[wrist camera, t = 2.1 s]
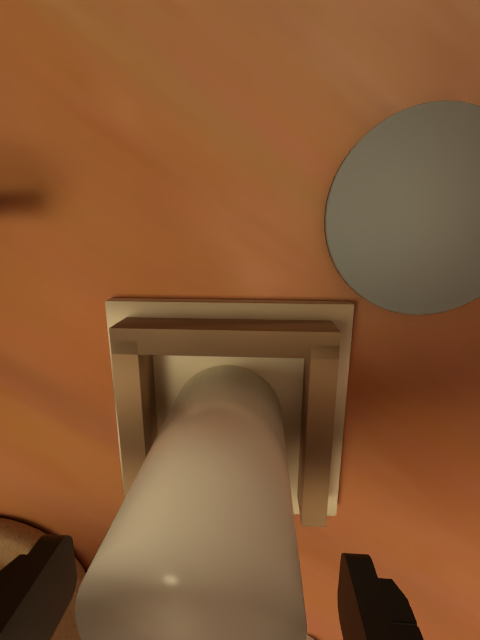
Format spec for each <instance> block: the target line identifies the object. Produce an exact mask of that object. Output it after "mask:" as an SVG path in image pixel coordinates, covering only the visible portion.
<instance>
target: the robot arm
mask: <svg viewBox="0 0 480 640" xmlns="http://www.w3.org/2000/svg"><path fill="white" fill-rule="evenodd" d="M76 583H77V570H76V563H75V555H74V548H73V541H72V538H71V536H68V535H51V534H45V535H43V536H41V537H40V538H39V539H38V541H37V542H36V543H35V545H34V546H33V547H32V549H31V550H30V551H29V553H28V554H27V555H26V554H20V555H19V556H17V557H16V558H15V559H14V560H12V561H11V562H10V563H9V564H8V565H6V566H5V567H4V568H3V569H1V570H0V640H51V638H52V636H53V634H54V632H55V630H56V628H57V626H58V625H59V623H60V621H61V619H62V617H63V615H64V613H65V611H66V609H67V607H68V606H69V604H70V602H71V600H72V597H73V594H74V591H75V588H76ZM338 612H339V619H340V625H341V630H342V635H343V640H424V639H423V637H422V634H421V632H420V629H419V627H417V622H416V619H415V617H414V614H413V612H412V609H411V607H410V604H409V602H408V599H407V598H406V597H405V595H404V594H403V593H402V592H401V590H400V589H399V588H398V586H397V585H396V584H395V583H394V581H393V580H392V579H383V578H378V577H377V574H376V571H375V568H374V565H373V562H372V559H371V557H370V556H369V555H367V554H350V553H342V555H341V562H340V573H339V584H338Z"/></svg>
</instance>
